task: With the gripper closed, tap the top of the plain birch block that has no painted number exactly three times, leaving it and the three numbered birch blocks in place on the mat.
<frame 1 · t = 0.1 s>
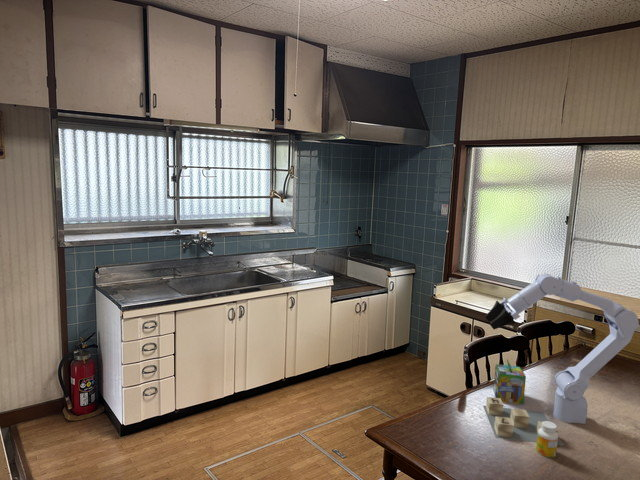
hand: (489, 323, 157), 32 cm above the table, tool tilted 50°, fingers open, 7 cm apart
mat: (520, 426, 153), on the table
chalk box: (507, 399, 171), on the table
block one: (546, 437, 145), point 1 cm above the table, touching mat
block four: (494, 411, 160), point 1 cm above the table, touching mat
supplement bottle: (545, 455, 138), on the table
block seven: (503, 432, 147), point 1 cm above the table, touching mat
plain block: (518, 423, 152), point 1 cm above the table, touching mat
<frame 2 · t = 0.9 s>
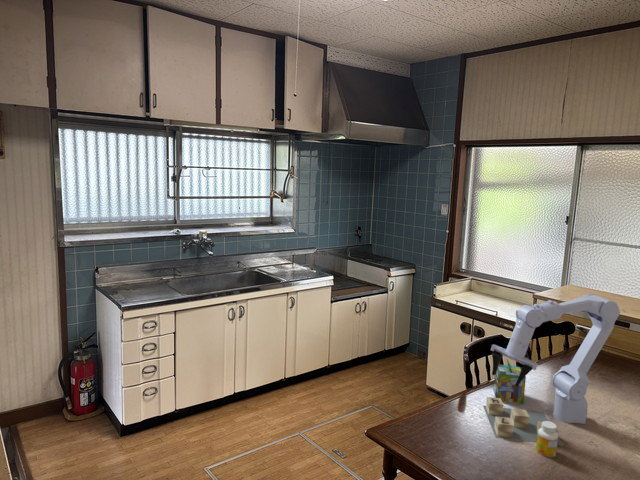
hand: (505, 380, 152), 15 cm above the table, tool tilted 15°, fingers open, 7 cm apart
nothing on the table moved.
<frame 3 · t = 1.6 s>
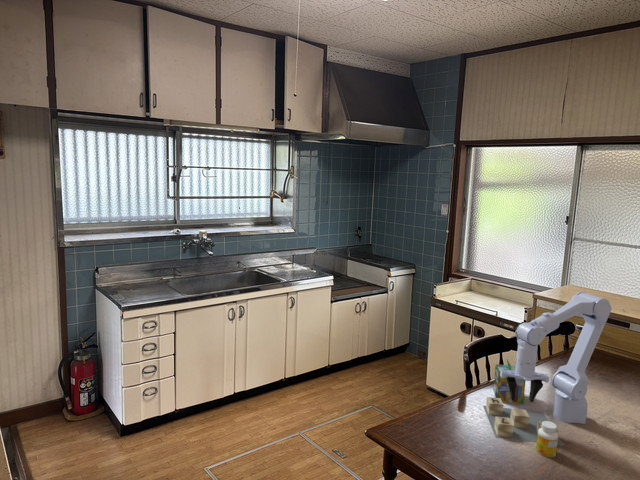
hand: (521, 400, 151), 9 cm above the table, tool pointing down, fingers open, 5 cm apart
nothing on the table moved.
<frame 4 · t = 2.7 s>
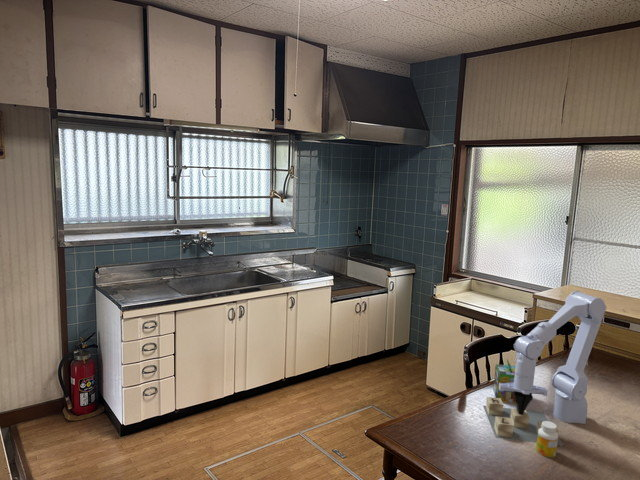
hand: (520, 413, 152), 5 cm above the table, tool pointing down, fingers closed, pressing on plain block
plain block: (518, 423, 152), point 1 cm above the table, touching gripper, mat
everything else where it was.
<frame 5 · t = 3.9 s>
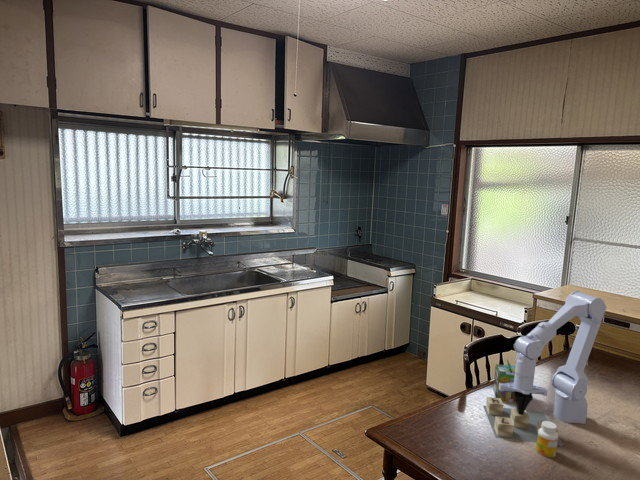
hand: (519, 413, 152), 5 cm above the table, tool pointing down, fingers closed, pressing on plain block
plain block: (518, 423, 152), point 1 cm above the table, touching gripper, mat
everything else where it was.
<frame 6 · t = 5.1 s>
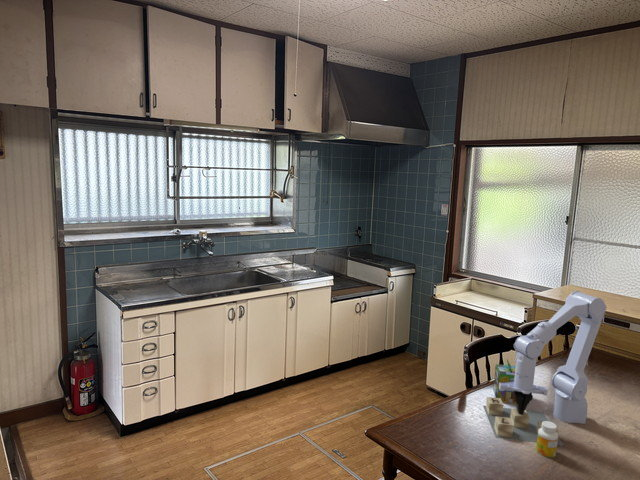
hand: (520, 412, 152), 5 cm above the table, tool pointing down, fingers closed
plain block: (518, 423, 152), point 1 cm above the table, touching mat
everything else where it was.
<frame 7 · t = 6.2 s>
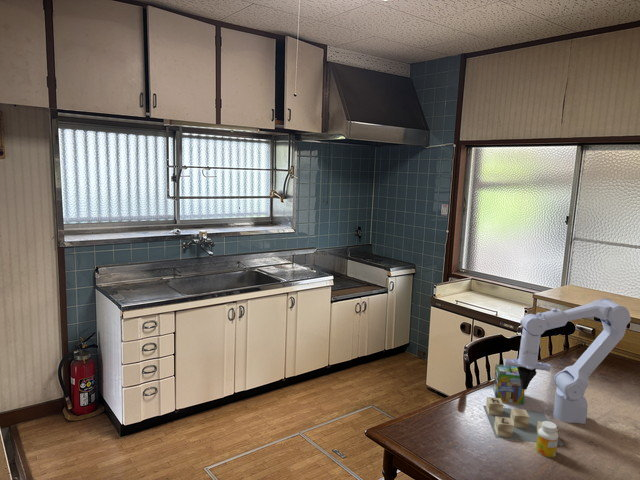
hand: (523, 388, 157), 10 cm above the table, tool pointing down, fingers closed
nothing on the table moved.
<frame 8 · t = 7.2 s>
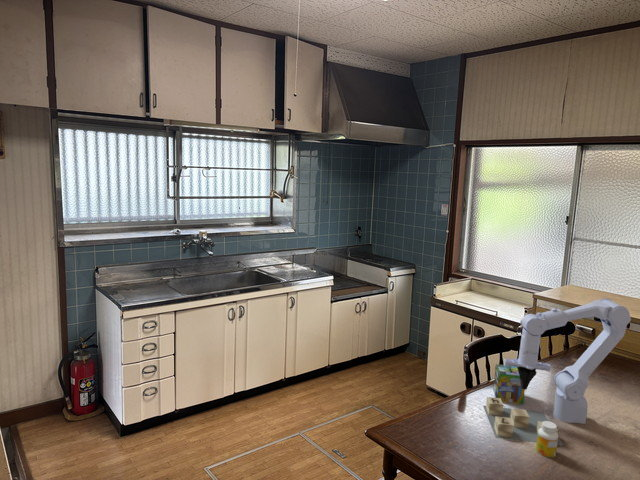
hand: (523, 388, 157), 10 cm above the table, tool pointing down, fingers closed
nothing on the table moved.
at the end: plain block moved 0.0 cm from its start; plain block tilted 0°; block four moved 0.0 cm from its start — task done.
